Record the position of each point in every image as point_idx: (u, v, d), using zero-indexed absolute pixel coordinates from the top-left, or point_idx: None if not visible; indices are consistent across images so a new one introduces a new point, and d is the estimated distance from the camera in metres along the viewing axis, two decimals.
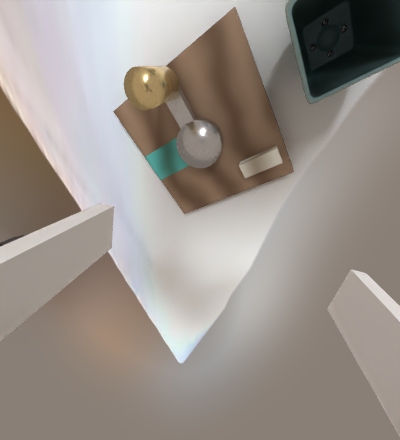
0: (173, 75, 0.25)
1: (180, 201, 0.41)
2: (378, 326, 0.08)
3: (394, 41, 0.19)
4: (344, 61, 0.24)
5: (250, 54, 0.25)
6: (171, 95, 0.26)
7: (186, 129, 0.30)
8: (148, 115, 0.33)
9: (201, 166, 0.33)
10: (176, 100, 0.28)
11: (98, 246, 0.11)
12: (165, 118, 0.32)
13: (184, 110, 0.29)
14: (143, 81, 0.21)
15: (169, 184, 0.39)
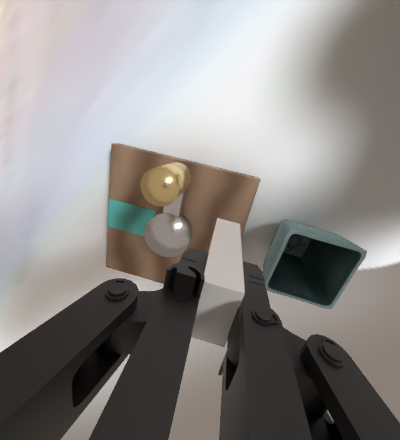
0: (189, 182, 0.26)
1: (111, 254, 0.37)
2: None
3: (322, 285, 0.27)
4: (292, 262, 0.32)
5: (248, 212, 0.30)
6: None
7: (167, 218, 0.29)
8: (142, 175, 0.30)
9: (156, 251, 0.32)
10: None
11: None
12: None
13: (177, 205, 0.29)
14: (166, 185, 0.21)
15: (113, 235, 0.35)
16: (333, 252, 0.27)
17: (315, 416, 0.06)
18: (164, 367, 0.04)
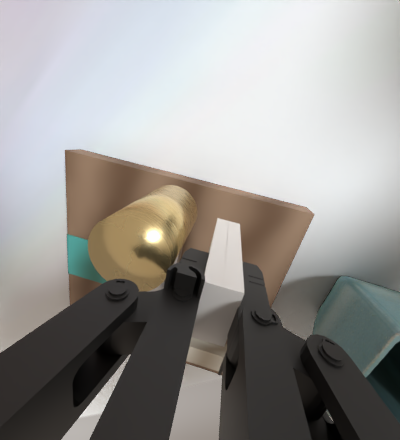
0: (193, 222, 0.14)
1: None
2: None
3: None
4: None
5: (289, 263, 0.18)
6: None
7: None
8: (116, 201, 0.19)
9: None
10: None
11: None
12: None
13: None
14: (145, 253, 0.09)
15: (77, 285, 0.23)
16: None
17: (315, 416, 0.06)
18: (164, 367, 0.04)
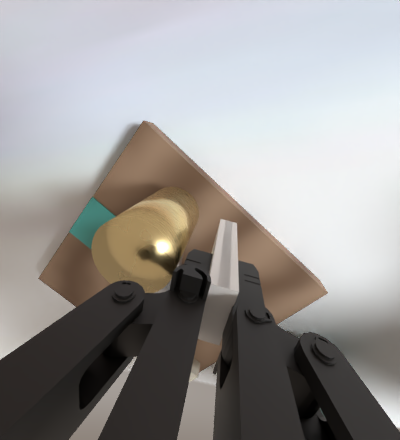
0: (195, 223, 0.14)
1: (55, 268, 0.23)
2: None
3: None
4: None
5: (284, 318, 0.20)
6: None
7: None
8: None
9: None
10: None
11: None
12: None
13: None
14: (149, 255, 0.09)
15: (71, 247, 0.21)
16: None
17: (308, 414, 0.06)
18: (171, 369, 0.04)
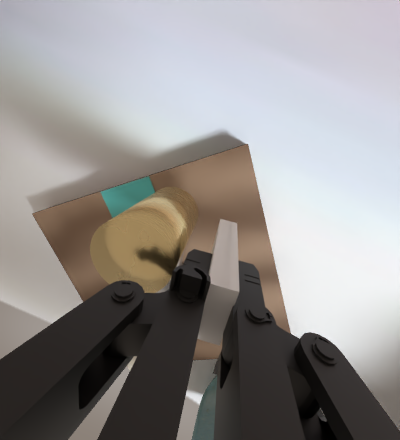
0: (195, 223, 0.14)
1: (59, 215, 0.20)
2: None
3: None
4: None
5: None
6: None
7: None
8: (221, 217, 0.18)
9: None
10: None
11: None
12: (209, 244, 0.19)
13: None
14: (148, 256, 0.09)
15: (92, 206, 0.19)
16: None
17: (309, 414, 0.06)
18: (170, 369, 0.04)
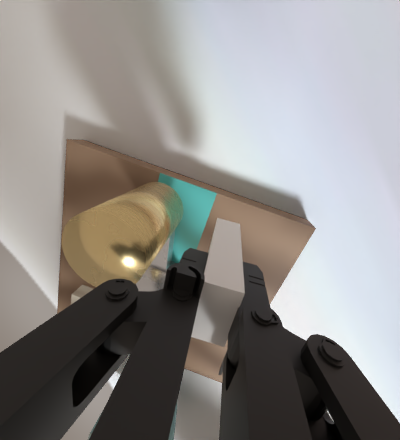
0: (178, 218, 0.14)
1: (97, 161, 0.17)
2: None
3: None
4: None
5: (185, 367, 0.25)
6: None
7: (147, 275, 0.17)
8: None
9: None
10: None
11: None
12: None
13: (161, 253, 0.17)
14: (119, 249, 0.09)
15: (141, 178, 0.17)
16: None
17: (315, 416, 0.06)
18: (164, 367, 0.04)
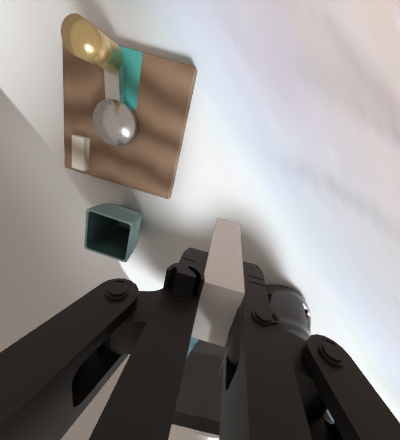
0: (118, 54, 0.29)
1: None
2: None
3: (99, 241, 0.42)
4: (112, 221, 0.44)
5: (144, 191, 0.40)
6: (107, 66, 0.29)
7: (109, 103, 0.32)
8: (167, 98, 0.33)
9: (107, 141, 0.35)
10: (113, 75, 0.31)
11: None
12: (154, 110, 0.34)
13: (116, 87, 0.32)
14: (82, 31, 0.24)
15: None
16: (124, 244, 0.43)
17: (315, 416, 0.06)
18: (164, 367, 0.04)
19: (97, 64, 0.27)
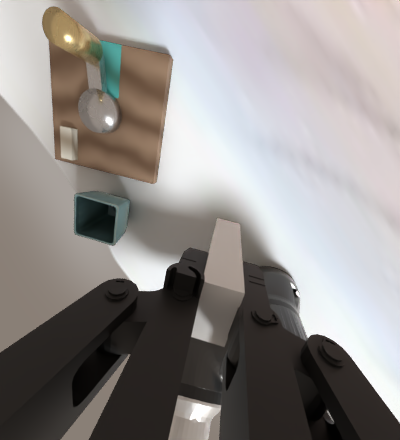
0: (97, 46, 0.32)
1: None
2: None
3: (89, 227, 0.43)
4: (102, 209, 0.46)
5: (130, 177, 0.42)
6: (88, 56, 0.31)
7: (92, 92, 0.35)
8: (146, 86, 0.36)
9: (92, 129, 0.37)
10: (94, 66, 0.34)
11: None
12: (135, 98, 0.37)
13: (97, 78, 0.34)
14: (61, 22, 0.26)
15: None
16: (113, 231, 0.44)
17: (315, 416, 0.06)
18: (164, 367, 0.04)
19: (77, 54, 0.30)
